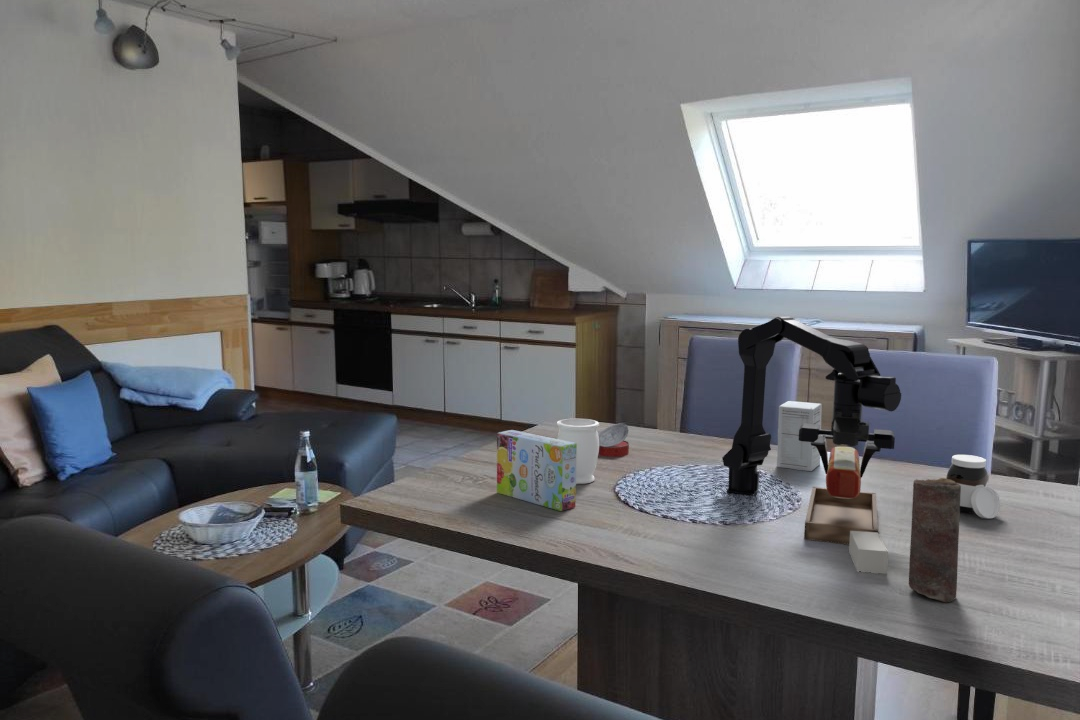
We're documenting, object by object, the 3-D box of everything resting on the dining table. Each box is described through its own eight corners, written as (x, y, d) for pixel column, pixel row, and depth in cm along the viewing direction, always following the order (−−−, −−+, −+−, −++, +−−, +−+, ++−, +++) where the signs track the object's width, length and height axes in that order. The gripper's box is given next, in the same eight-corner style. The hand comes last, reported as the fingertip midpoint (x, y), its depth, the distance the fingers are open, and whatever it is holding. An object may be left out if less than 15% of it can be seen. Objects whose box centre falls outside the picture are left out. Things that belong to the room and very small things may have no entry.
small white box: (857, 572, 148) (858, 549, 147) (848, 552, 157) (850, 530, 157) (886, 575, 147) (888, 551, 146) (876, 555, 156) (877, 532, 156)
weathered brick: (907, 599, 136) (915, 483, 133) (905, 582, 143) (912, 471, 140) (958, 606, 133) (967, 488, 131) (953, 589, 140) (961, 476, 137)
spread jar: (955, 500, 190) (958, 451, 188) (1008, 511, 182) (1012, 460, 180) (935, 511, 182) (939, 460, 180) (991, 523, 174) (995, 470, 172)
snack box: (577, 506, 185) (578, 442, 183) (561, 512, 181) (561, 446, 179) (511, 488, 199) (511, 428, 197) (495, 493, 195) (494, 431, 193)
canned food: (627, 471, 232) (632, 445, 226) (592, 467, 232) (596, 441, 226) (626, 444, 241) (631, 419, 235) (592, 441, 241) (597, 415, 235)
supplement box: (820, 464, 221) (823, 403, 219) (812, 472, 213) (815, 409, 211) (785, 459, 226) (787, 399, 224) (775, 466, 219) (778, 405, 216)
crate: (804, 539, 164) (804, 522, 164) (811, 501, 189) (812, 486, 188) (877, 548, 159) (878, 530, 159) (875, 508, 184) (876, 493, 183)
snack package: (828, 470, 184) (830, 441, 183) (859, 474, 182) (861, 444, 181) (824, 498, 164) (826, 465, 163) (859, 502, 162) (861, 469, 161)
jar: (550, 483, 203) (551, 424, 201) (565, 472, 213) (565, 416, 211) (591, 487, 199) (591, 428, 197) (604, 477, 209) (604, 419, 207)
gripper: (798, 407, 166) (794, 480, 169) (897, 414, 160) (892, 491, 162) (802, 397, 177) (798, 467, 179) (895, 404, 170) (890, 476, 172)
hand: (843, 475), depth 173 cm, fingers closed on snack package, 6 cm apart
